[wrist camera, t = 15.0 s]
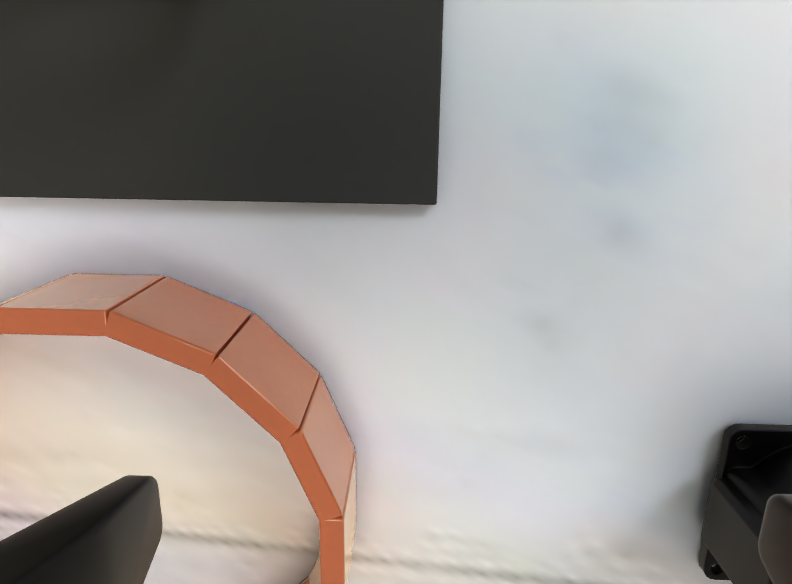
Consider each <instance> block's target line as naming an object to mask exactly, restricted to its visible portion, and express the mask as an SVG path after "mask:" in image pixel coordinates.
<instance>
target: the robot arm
mask: <svg viewBox="0 0 792 584" xmlns="http://www.w3.org/2000/svg"><path fill="white" fill-rule="evenodd" d="M740 436H744V438H743V440H742V441H740V442H736V441H737V439H738V438H739V437H740ZM161 534H162V515H161V507H160V498H159V489H158V484H157V481H156V479H155V478H153V477H152V476H134V475H129V476H125V477H122V478H121V479H119V480H117V481H115V482H113V483H111V484H109V485H107V486H105V487H103V488H101V489H99V490H98V491H96V492H94V493H92V494H90V495H88V496H86V497H84V498H82V499H80V500H78V501H76V502H75V503H73V504H71V505H69V506H67V507H65V508H63V509H61V510H59V511H57V512H55V513H53V514H52V515H50V516H48V517H46V518H44V519H42V520H40V521H38V522H36V523H34V524H32V525H31V526H29V527H27V528H25V529H23V530H21V531H19V532H17V533H15V534H13V535H11V536H9V537H8V538H6V539H4V540H2V541H0V584H143V583H144V580H145V578H146V575H147V572H148V570H149V567H150V565H151V562H152V560H153V557H154V554H155V552H156V549H157V547H158V544H159V541H160V538H161ZM701 539H702V540H703V544H702V549H701V554H700V559H699V565H700V567H701V569H702V570H703V572H704V573H705V575H706V576H707V577H708V578H710V579H714V580H730V581H731V582H732V584H792V425H764V424H735V425H733V426H731V427H729V428H728V429H727V430H726V431H725V433H724V436H723V441H722V446H721V451H720V456H719V461H718V466H717V472H716V477H715V479H714V481H713V482H712V483H711V487H710V492H709V497H708V502H707V508H706V513H705V518H704V523H703V528H702V534H701ZM714 564H717V565H716V566H713V565H714ZM712 566H713V567H712Z"/></svg>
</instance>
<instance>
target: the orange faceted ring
mask: <svg viewBox="0 0 792 584" xmlns="http://www.w3.org/2000/svg"><path fill="white" fill-rule="evenodd" d="M251 313H252V312H251V311H250V310H247V309H245V308H242V307H240V306H238V305H235V304H233V303H230V302H228V301H225V300H223V299H220V298H218V297H216V296H213V295H211V294H208V293H206V292H203V291H201V290H199V289H196V288H194V287H191V286H189V285H186V284H184V283H182V282H179V281H177V280H174V279H172V278H169V277H165V278H164V277H163V276H162V275H119V274H72V275H66V276H64V277H62V278H59V279H57V280H54V281H52V282H49V283H47V284H44V285H42V286H40V287H37V288H35V289H32V290H30V291H27V292H25V293H22V294H20V295H18V296H15V297H13V298H10V299H8V300H5V301H3V302H1V303H0V335H2V334H37V335H78V336H107V337H109V338H112V339H114V340H117V341H119V342H122V343H124V344H127V345H130V346H132V347H135V348H137V349H140V350H142V351H145V352H147V353H150V354H152V355H155V356H157V357H160V358H162V359H165V360H167V361H170V362H172V363H175V364H177V365H180V366H182V367H185V368H187V369H190V370H192V371H195V372H197V373H200V374H203V375H204V376H205V377H206V378H208V379H209V380H210V381H211V382H212V383H213V384H214V385H215V386H217V387H218V388H219V389H220V390H221V391H222V392H223V393H224V394H226V395H227V396H228V397H229V398H230V399H231V400H232V401H234V402H235V403H236V404H237V405H238V406H239V407H240V408H241V409H243V410H244V411H245V412H246V413H247V414H248V415H249V416H250V417H252V418H253V419H254V420H255V421H256V422H257V423H258V424H260V425H261V426H262V427H263V428H264V429H265V430H266V431H267V432H269V433H270V434H271V435H272V436H273V437H274V438H275V439H277V440H278V441H279V442H280V443H281V445H282V447H283V449H284V451H285V453H286V455H287V457H288V459H289V461H290V463H291V465H292V467H293V469H294V471H295V473H296V475H297V477H298V479H299V481H300V483H301V485H302V487H303V489H304V491H305V493H306V495H307V497H308V499H309V501H310V503H311V505H312V507H313V509H314V511H315V513H316V515H317V517H318V519H319V543H320V555H319V557H318V559H317V561H316V563H315V565H314V567H313V569H312V571H311V573H310V576H309V577H308V578H307V579H306V580H304V581H303V582H302V583H301V584H347V582H348V575H349V568H350V561H351V555H352V548H353V541H354V534H355V527H356V452H355V451H354V445H353V443H352V441H351V439H350V436H349V434H348V432H347V430H346V428H345V426H344V424H343V421H342V419H341V417H340V415H339V413H338V411H337V409H336V406H335V404H334V402H333V400H332V398H331V396H330V394H329V391H328V389H327V387H326V385H325V383H324V381H323V379H322V377H318V376H319V372H318V371H317V370H316V369H315V368H313V367H312V366H311V365H310V364H309V363H308V362H307V361H306V360H305V359H304V358H303V357H302V356H301V355H299V354H298V353H297V352H296V351H295V350H294V349H293V348H292V347H291V346H290V345H289V344H288V343H287V342H286V341H284V340H283V339H282V338H281V337H280V336H279V335H278V334H277V333H276V332H275V331H274V330H273V329H272V328H270V327H269V326H268V325H267V324H266V323H265V322H264V321H263V320H262V319H261V318H260V317H259V316H258V315H256V314H253V315H252V316H251ZM250 316H251V317H250Z"/></svg>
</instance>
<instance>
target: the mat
mask: <svg viewBox="0 0 792 584" xmlns="http://www.w3.org/2000/svg"><path fill="white" fill-rule="evenodd" d="M443 1H444V0H0V197H48V198H102V199H155V200H209V201H262V202H316V203H369V204H423V205H435V204H436V203H437V176H438V146H439V117H440V88H441V59H442V30H443Z"/></svg>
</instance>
